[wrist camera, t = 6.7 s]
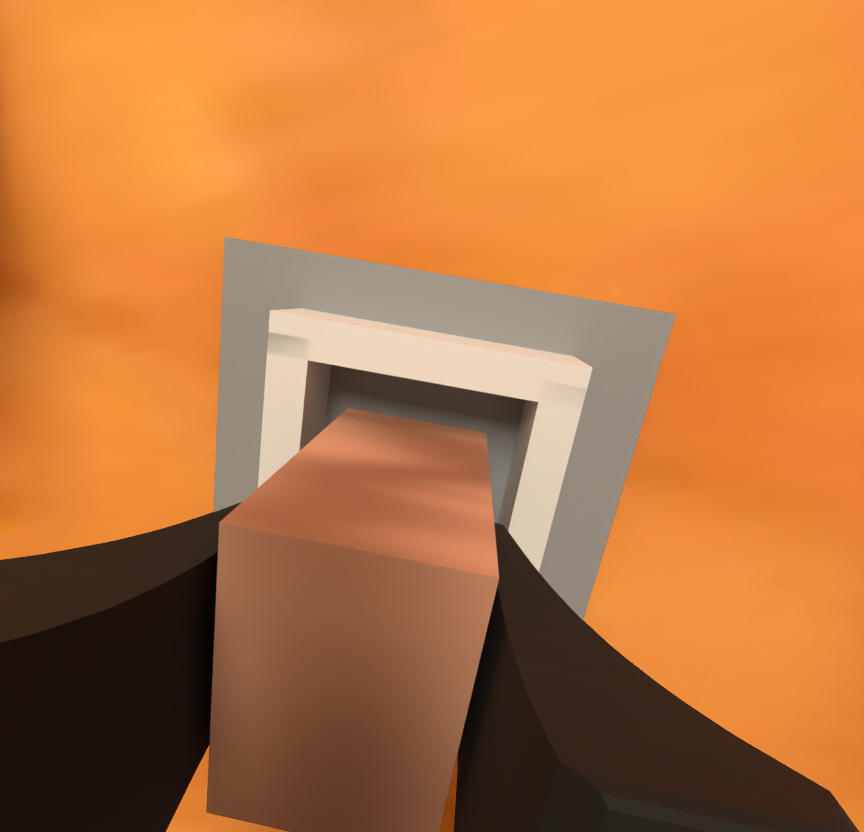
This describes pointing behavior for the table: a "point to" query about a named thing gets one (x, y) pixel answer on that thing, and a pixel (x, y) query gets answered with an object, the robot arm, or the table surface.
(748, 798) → the robot arm
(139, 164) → the table surface
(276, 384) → the grey framed tray
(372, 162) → the table surface
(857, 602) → the table surface
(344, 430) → the block
